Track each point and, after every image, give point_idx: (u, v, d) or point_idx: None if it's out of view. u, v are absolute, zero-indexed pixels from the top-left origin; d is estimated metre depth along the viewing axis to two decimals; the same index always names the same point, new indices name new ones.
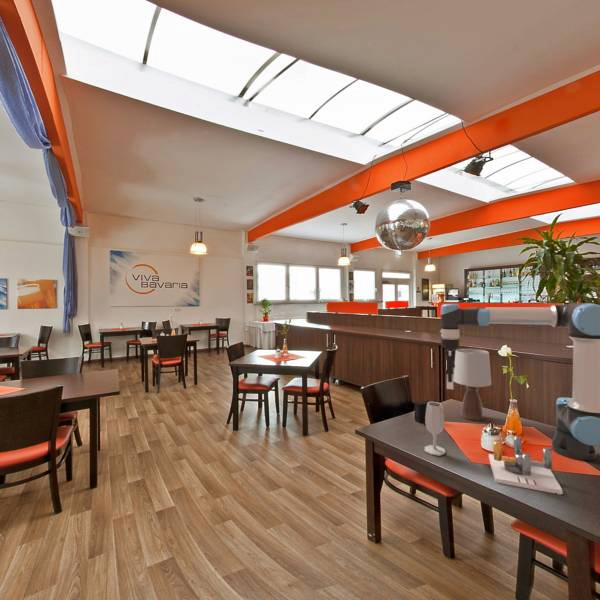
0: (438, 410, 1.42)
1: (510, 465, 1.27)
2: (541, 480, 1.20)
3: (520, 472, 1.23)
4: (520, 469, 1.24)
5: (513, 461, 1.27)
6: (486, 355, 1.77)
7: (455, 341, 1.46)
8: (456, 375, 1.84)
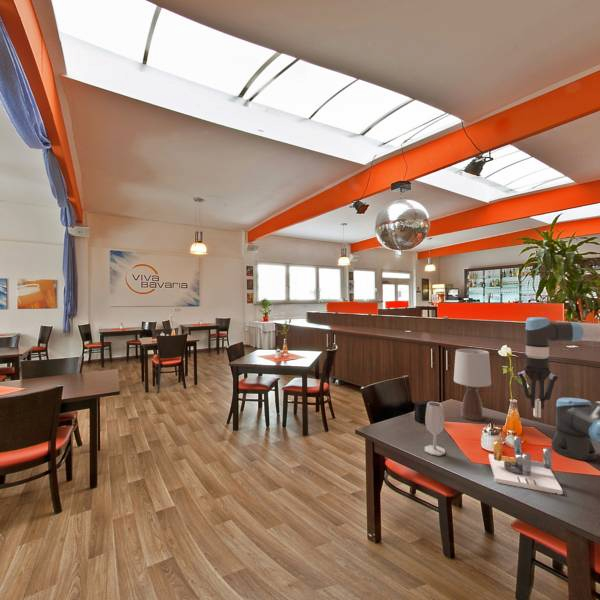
0: (438, 410, 1.42)
1: (510, 465, 1.27)
2: (541, 480, 1.20)
3: (520, 472, 1.23)
4: (520, 469, 1.24)
5: (513, 461, 1.27)
6: (486, 355, 1.77)
7: (529, 359, 1.30)
8: (456, 375, 1.84)
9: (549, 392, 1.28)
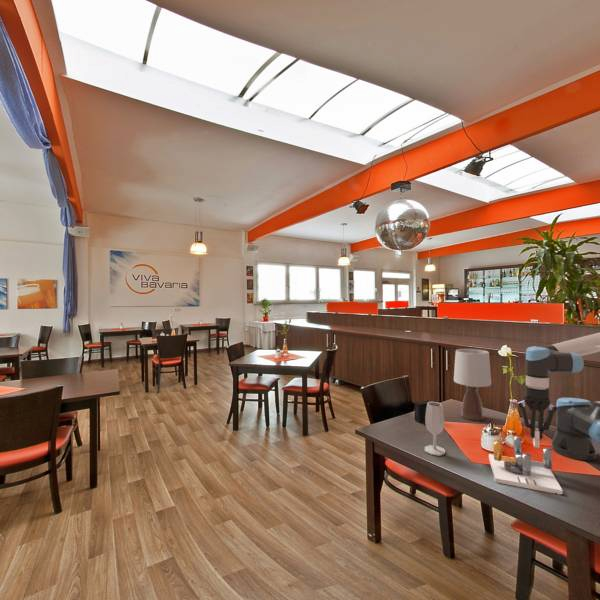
0: (438, 410, 1.42)
1: (510, 465, 1.27)
2: (541, 480, 1.20)
3: (520, 472, 1.23)
4: (520, 469, 1.24)
5: (513, 461, 1.27)
6: (486, 355, 1.77)
7: (529, 389, 1.30)
8: (456, 375, 1.84)
9: (548, 423, 1.28)
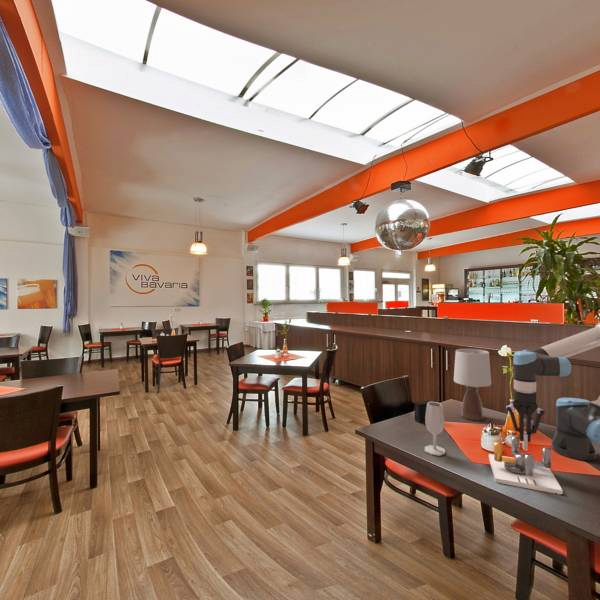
0: (438, 410, 1.42)
1: (511, 466, 1.27)
2: (541, 480, 1.20)
3: (521, 472, 1.23)
4: (521, 469, 1.24)
5: (513, 461, 1.27)
6: (486, 355, 1.77)
7: (517, 393, 1.31)
8: (456, 375, 1.84)
9: (536, 426, 1.30)
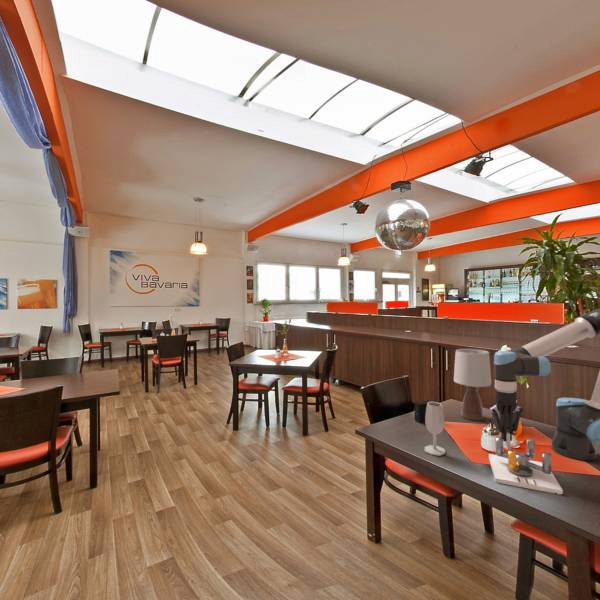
0: (438, 410, 1.42)
1: (520, 470, 1.23)
2: (541, 480, 1.20)
3: (532, 473, 1.23)
4: (529, 470, 1.24)
5: (520, 465, 1.24)
6: (486, 355, 1.77)
7: (502, 394, 1.31)
8: (456, 375, 1.84)
9: (516, 424, 1.33)
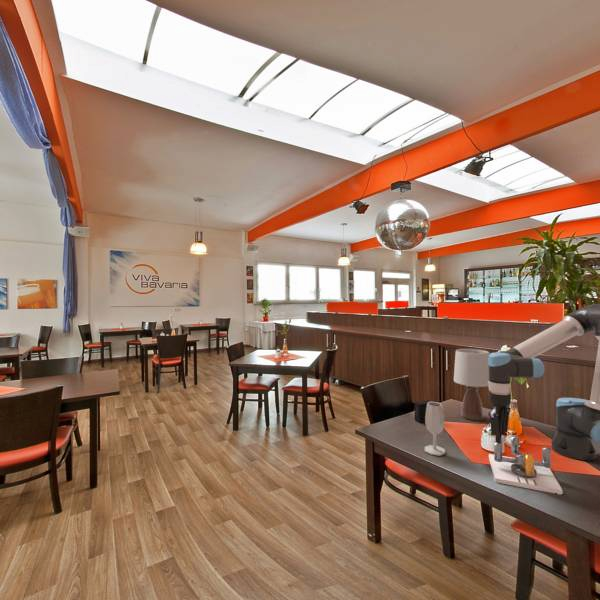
0: (438, 410, 1.42)
1: None
2: (541, 480, 1.20)
3: None
4: None
5: None
6: (486, 355, 1.77)
7: (501, 397, 1.28)
8: (456, 375, 1.84)
9: (507, 424, 1.33)
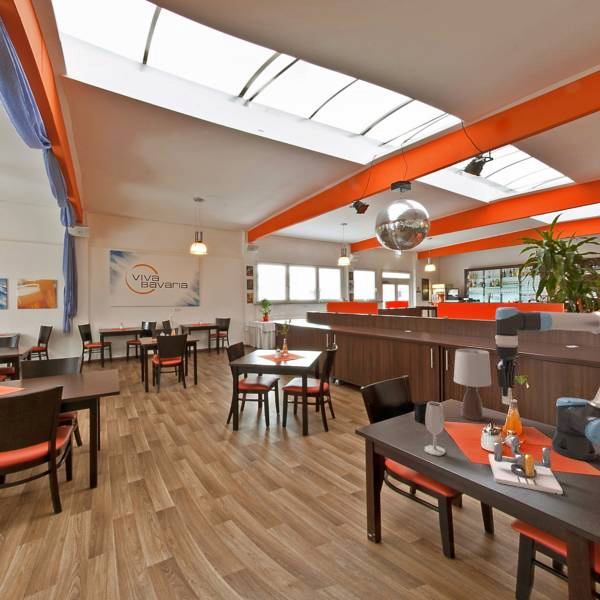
0: (438, 410, 1.42)
1: None
2: (541, 480, 1.20)
3: None
4: None
5: None
6: (486, 355, 1.77)
7: (508, 349, 1.30)
8: (456, 375, 1.84)
9: (513, 378, 1.35)
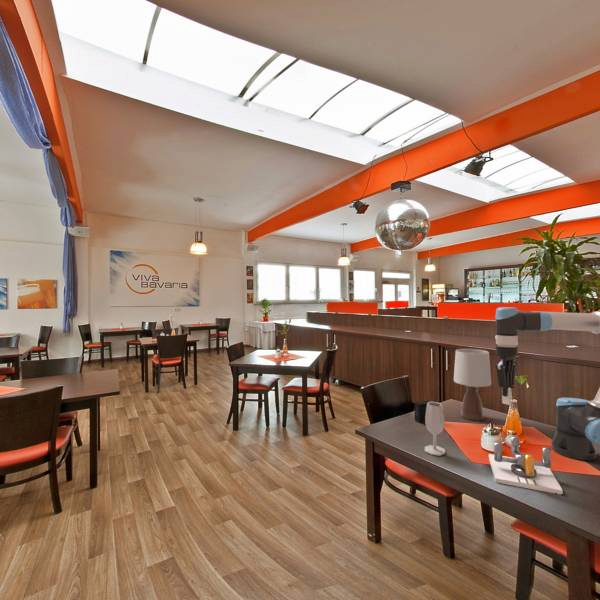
0: (438, 410, 1.42)
1: None
2: (541, 480, 1.20)
3: None
4: None
5: None
6: (486, 355, 1.77)
7: (508, 349, 1.30)
8: (456, 375, 1.84)
9: (513, 378, 1.35)
